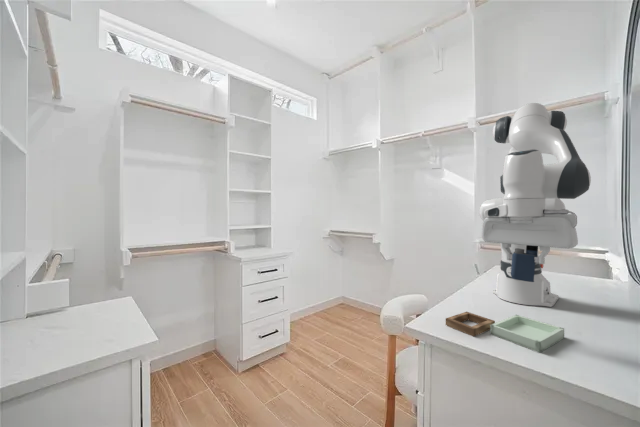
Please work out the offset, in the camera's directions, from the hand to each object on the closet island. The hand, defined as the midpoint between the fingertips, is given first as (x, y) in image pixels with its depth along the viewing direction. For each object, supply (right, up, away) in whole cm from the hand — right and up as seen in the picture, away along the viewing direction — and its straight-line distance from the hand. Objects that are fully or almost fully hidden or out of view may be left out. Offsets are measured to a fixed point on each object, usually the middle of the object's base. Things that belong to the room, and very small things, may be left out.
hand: (524, 261), depth 68 cm
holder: (-11, -20, +6) cm, 24 cm away
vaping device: (0, -5, 0) cm, 5 cm away
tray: (0, -20, 0) cm, 20 cm away
